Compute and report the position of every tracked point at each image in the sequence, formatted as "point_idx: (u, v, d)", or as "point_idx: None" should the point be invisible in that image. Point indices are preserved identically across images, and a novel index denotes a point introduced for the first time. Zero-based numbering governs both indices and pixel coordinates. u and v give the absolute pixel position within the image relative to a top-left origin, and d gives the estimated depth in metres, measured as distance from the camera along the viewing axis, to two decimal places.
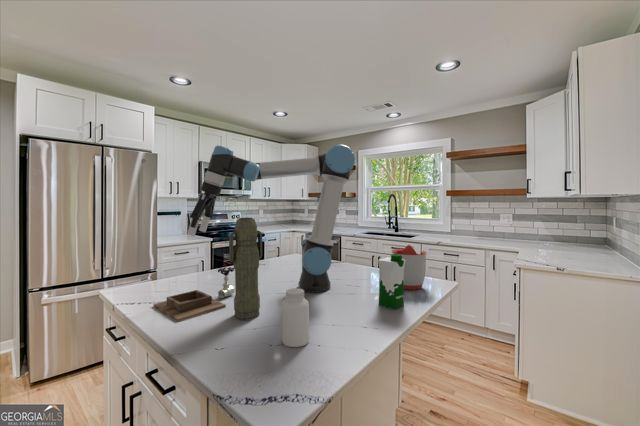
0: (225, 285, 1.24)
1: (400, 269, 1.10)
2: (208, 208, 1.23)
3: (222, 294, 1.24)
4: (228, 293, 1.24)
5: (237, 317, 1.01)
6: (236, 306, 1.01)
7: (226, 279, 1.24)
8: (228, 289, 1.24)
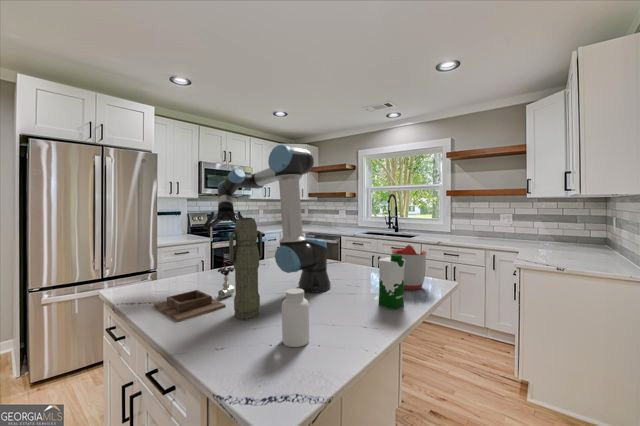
0: (225, 285, 1.24)
1: (400, 269, 1.10)
2: (235, 221, 1.43)
3: (222, 294, 1.24)
4: (228, 293, 1.24)
5: (237, 317, 1.01)
6: (236, 306, 1.01)
7: (226, 279, 1.24)
8: (228, 289, 1.24)
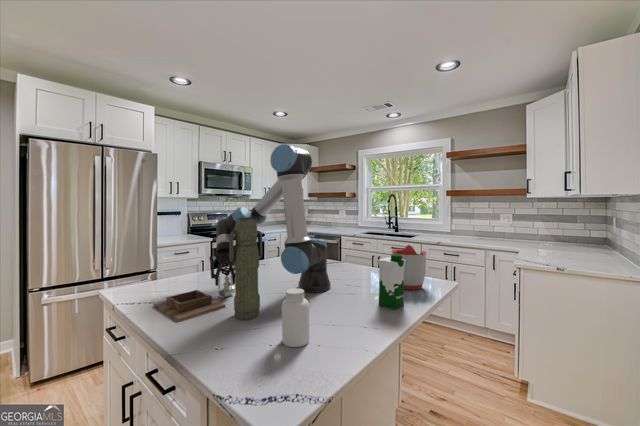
0: (226, 285, 1.24)
1: (400, 269, 1.10)
2: (229, 266, 1.29)
3: (223, 294, 1.24)
4: (229, 293, 1.24)
5: (237, 317, 1.01)
6: (236, 306, 1.01)
7: (227, 279, 1.24)
8: (229, 289, 1.24)
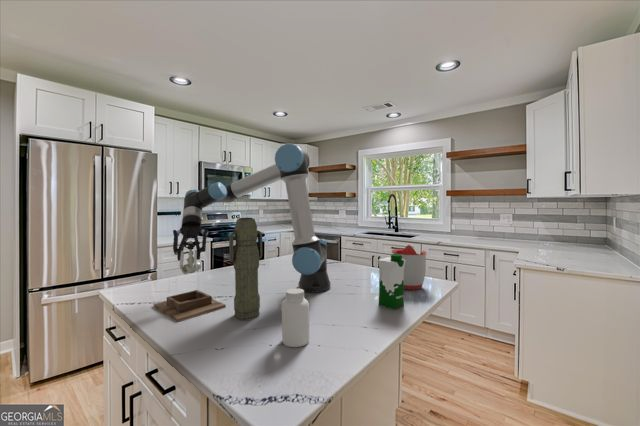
0: (189, 260, 1.12)
1: (400, 269, 1.10)
2: None
3: (186, 270, 1.12)
4: (193, 269, 1.12)
5: (237, 317, 1.01)
6: (236, 306, 1.01)
7: (190, 253, 1.12)
8: (193, 264, 1.12)
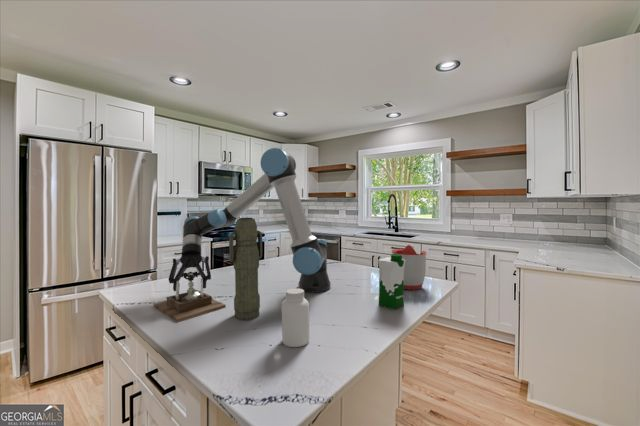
0: (189, 291, 1.12)
1: (400, 269, 1.10)
2: (198, 269, 1.18)
3: (186, 301, 1.12)
4: None
5: (237, 317, 1.01)
6: (236, 306, 1.01)
7: (191, 285, 1.12)
8: (193, 296, 1.12)
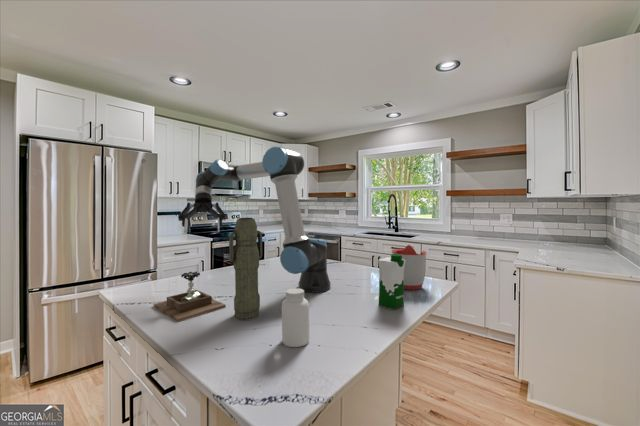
0: (189, 291, 1.12)
1: (400, 269, 1.10)
2: (212, 212, 1.37)
3: (186, 301, 1.12)
4: None
5: (237, 317, 1.01)
6: (236, 306, 1.01)
7: (191, 285, 1.12)
8: (193, 296, 1.12)
